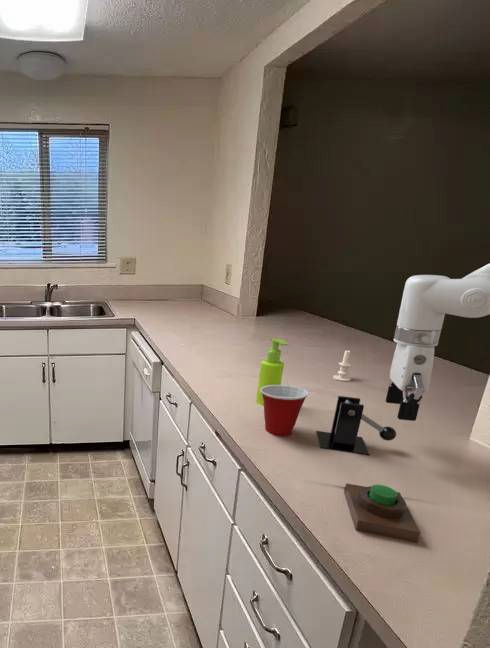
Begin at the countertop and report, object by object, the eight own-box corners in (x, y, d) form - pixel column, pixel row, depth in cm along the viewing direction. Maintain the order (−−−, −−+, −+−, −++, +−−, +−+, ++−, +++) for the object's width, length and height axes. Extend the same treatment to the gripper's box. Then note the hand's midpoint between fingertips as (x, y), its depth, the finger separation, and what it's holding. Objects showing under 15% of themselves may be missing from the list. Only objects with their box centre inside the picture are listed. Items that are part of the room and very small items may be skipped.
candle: (352, 382, 144) (358, 352, 140) (334, 380, 146) (340, 350, 142) (349, 377, 149) (355, 348, 145) (331, 375, 150) (337, 346, 147)
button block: (343, 492, 86) (347, 475, 84) (397, 502, 83) (402, 484, 81) (355, 530, 75) (360, 511, 74) (417, 543, 72) (423, 523, 71)
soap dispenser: (265, 411, 122) (276, 343, 116) (251, 402, 129) (260, 336, 122) (283, 409, 124) (295, 341, 117) (268, 400, 130) (278, 335, 123)
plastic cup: (275, 421, 117) (282, 379, 112) (310, 438, 107) (318, 393, 103) (245, 429, 112) (250, 386, 108) (278, 447, 103) (286, 401, 99)
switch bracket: (360, 441, 106) (371, 396, 102) (369, 459, 98) (380, 411, 94) (315, 434, 109) (323, 391, 105) (319, 451, 101) (329, 405, 97)
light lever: (386, 439, 101) (397, 429, 99) (390, 445, 98) (401, 435, 96) (337, 406, 102) (347, 396, 101) (339, 412, 99) (350, 402, 98)
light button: (366, 490, 80) (368, 482, 80) (392, 495, 79) (394, 487, 78) (371, 503, 77) (373, 494, 76) (398, 508, 75) (400, 499, 75)
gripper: (454, 347, 82) (433, 429, 87) (424, 328, 97) (407, 399, 103) (407, 344, 84) (390, 424, 90) (384, 326, 100) (371, 395, 105)
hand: (399, 411), depth 96 cm, fingers open, 9 cm apart
